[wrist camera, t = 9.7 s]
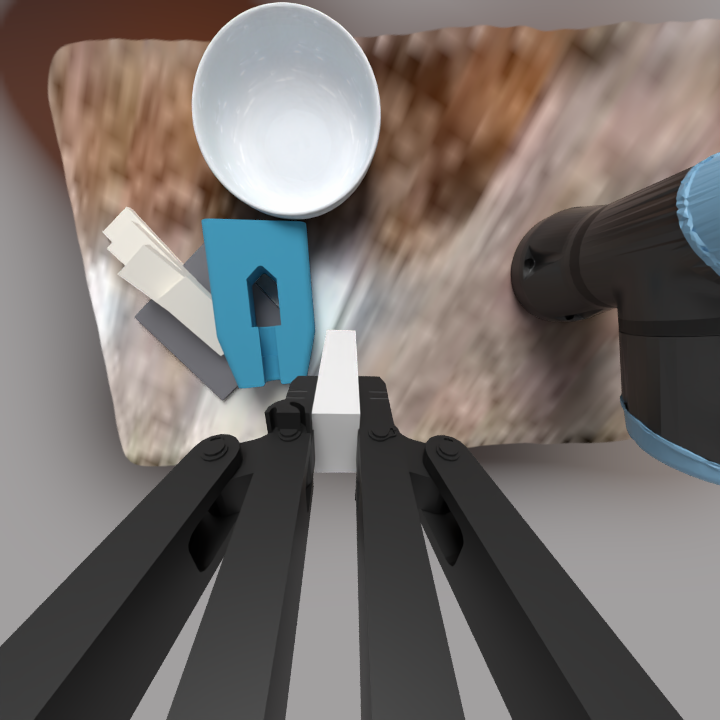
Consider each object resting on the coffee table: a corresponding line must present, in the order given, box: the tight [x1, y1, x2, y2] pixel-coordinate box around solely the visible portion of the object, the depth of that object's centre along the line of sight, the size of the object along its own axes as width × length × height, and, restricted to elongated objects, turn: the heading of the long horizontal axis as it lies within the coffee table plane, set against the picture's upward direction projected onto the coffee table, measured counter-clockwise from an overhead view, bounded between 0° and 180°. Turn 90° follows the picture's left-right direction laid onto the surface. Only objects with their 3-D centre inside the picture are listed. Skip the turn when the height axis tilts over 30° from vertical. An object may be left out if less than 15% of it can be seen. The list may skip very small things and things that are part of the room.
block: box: [202, 219, 315, 388], centre depth 36 cm, size 12×5×20 cm
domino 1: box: [103, 207, 184, 266], centre depth 38 cm, size 2×5×10 cm
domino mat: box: [135, 243, 281, 400], centre depth 39 cm, size 17×16×1 cm
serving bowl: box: [192, 2, 381, 220], centre depth 33 cm, size 21×21×7 cm
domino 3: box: [118, 245, 187, 311], centre depth 36 cm, size 2×5×10 cm
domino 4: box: [157, 274, 224, 356], centre depth 36 cm, size 2×5×10 cm
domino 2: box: [107, 221, 197, 280], centre depth 37 cm, size 2×5×10 cm
